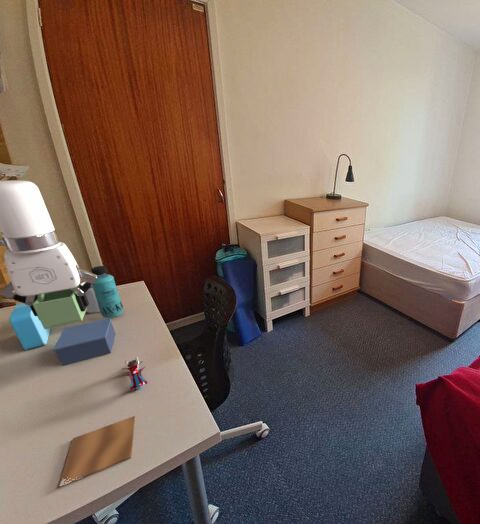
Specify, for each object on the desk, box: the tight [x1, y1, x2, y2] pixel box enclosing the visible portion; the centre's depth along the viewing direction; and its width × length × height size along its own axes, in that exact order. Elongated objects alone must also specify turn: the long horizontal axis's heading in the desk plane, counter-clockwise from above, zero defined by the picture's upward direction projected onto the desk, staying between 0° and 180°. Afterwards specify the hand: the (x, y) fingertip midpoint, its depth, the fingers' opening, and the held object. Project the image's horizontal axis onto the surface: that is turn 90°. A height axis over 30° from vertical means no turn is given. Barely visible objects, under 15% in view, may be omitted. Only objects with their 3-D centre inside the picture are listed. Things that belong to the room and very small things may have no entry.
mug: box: [80, 281, 101, 314], centre depth 107 cm, size 11×10×10 cm
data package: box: [8, 302, 51, 351], centre depth 88 cm, size 12×4×12 cm, turn 39°
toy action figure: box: [121, 356, 148, 392], centre depth 76 cm, size 5×12×6 cm, turn 42°
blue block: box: [52, 317, 116, 367], centre depth 87 cm, size 11×11×6 cm
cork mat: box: [60, 415, 136, 484], centre depth 60 cm, size 11×11×1 cm
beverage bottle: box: [90, 265, 124, 319], centre depth 100 cm, size 6×7×20 cm
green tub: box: [33, 289, 87, 329], centre depth 66 cm, size 6×6×6 cm
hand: (64, 312), depth 66 cm, fingers closed on green tub, 6 cm apart
